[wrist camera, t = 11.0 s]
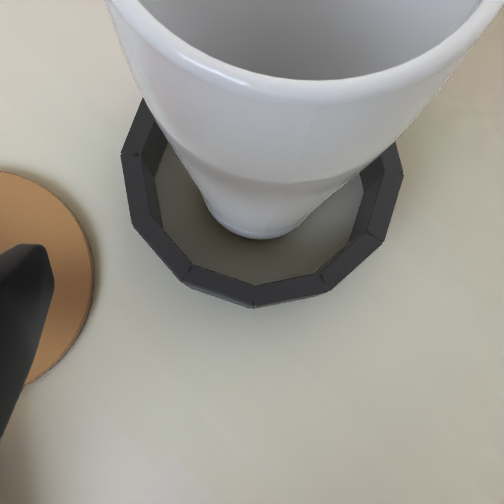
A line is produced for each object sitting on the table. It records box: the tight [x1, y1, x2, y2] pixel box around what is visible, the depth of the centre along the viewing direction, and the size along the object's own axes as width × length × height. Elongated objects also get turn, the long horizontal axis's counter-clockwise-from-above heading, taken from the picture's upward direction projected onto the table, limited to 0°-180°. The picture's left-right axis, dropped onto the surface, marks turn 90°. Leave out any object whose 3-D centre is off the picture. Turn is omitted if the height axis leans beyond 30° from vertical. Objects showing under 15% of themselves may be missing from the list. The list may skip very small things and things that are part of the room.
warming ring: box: [121, 98, 404, 309], centre depth 20 cm, size 11×11×3 cm
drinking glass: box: [105, 0, 504, 240], centre depth 14 cm, size 7×7×15 cm
